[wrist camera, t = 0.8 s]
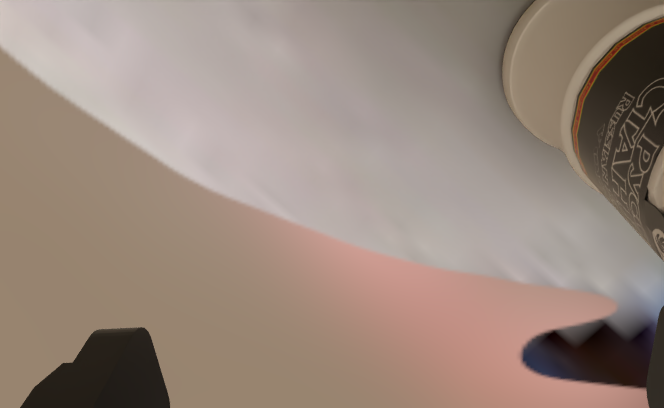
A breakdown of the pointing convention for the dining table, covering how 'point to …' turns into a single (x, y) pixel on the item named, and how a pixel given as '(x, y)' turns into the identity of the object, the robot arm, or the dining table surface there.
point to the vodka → (597, 97)
